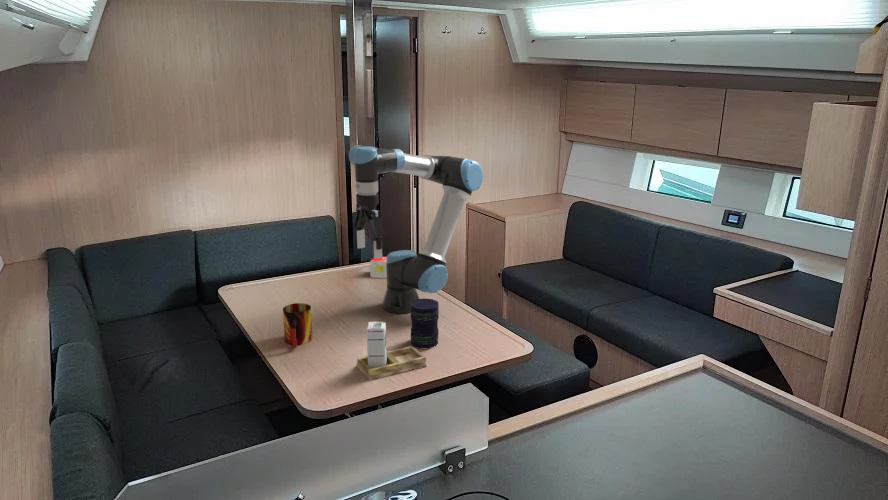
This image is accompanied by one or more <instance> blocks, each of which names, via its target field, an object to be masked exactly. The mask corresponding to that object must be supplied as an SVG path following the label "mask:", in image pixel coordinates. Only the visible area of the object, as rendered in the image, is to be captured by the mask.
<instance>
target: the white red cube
mask: <svg viewBox="0 0 888 500" xmlns="http://www.w3.org/2000/svg"><path fill="white" fill-rule="evenodd" d="M369 262H370V264H369V265H370V267H369V271H370V273H369V274H370V278H376V279H387V270H386V263H387V256H382V258H377V259H374V256H373V258H371V260H370V261H369Z"/></svg>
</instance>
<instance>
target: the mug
mask: <svg viewBox="0 0 888 500" xmlns="http://www.w3.org/2000/svg"><path fill="white" fill-rule="evenodd" d="M282 316H283V317H282V318H283V332H284V333H283V334H284V342H285V343H286V344H288V345H290V346H292V348H293V349H297V346H302V345H306V344H309V343H310V342H312V340H313V324H312V323H313V321H312V306H311V305H309V303H304V302H303V303H301V302H295V303H290V304H287V305H284V306H283V307H282Z"/></svg>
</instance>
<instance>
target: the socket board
mask: <svg viewBox="0 0 888 500" xmlns="http://www.w3.org/2000/svg"><path fill="white" fill-rule="evenodd" d="M356 361H357V362H356V367H357V368H358V369H359V370H360V371H361V373H363V374H364V376H365V377H367V378H368V380H369V381H373V380H376V379H377V380H378V379H381V378H384V377H385V378H386V377H389V376H393V375H397V374H402V373H404V372H405V373H406V372H410V371H412V369H414V370H417V369H416V368H418V369H421V368H420V367H422V368H424V367H423V366H426V367H427V357H426V356H425V355H424V354H422V353H421V352H420V351H419V350H417V348H416V347H414V346H412V345H410V346H405V347H401V348H397V349H393V350H388V351H387V365H385V366H381V367H377V368H372V369H371V368H370V367H369V366H368V355H365V356H361V357H357V358H356ZM409 370H410V371H409Z"/></svg>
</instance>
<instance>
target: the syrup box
mask: <svg viewBox="0 0 888 500" xmlns="http://www.w3.org/2000/svg"><path fill="white" fill-rule="evenodd" d="M386 323H387V322H385V321H368V323H367V326H366V347H367V348H366V351H367V355H366V356H368V366H369V367H370V368H371V369H372V368H377V367H381V366H385V365H387V326H386V325H387V324H386Z"/></svg>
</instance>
